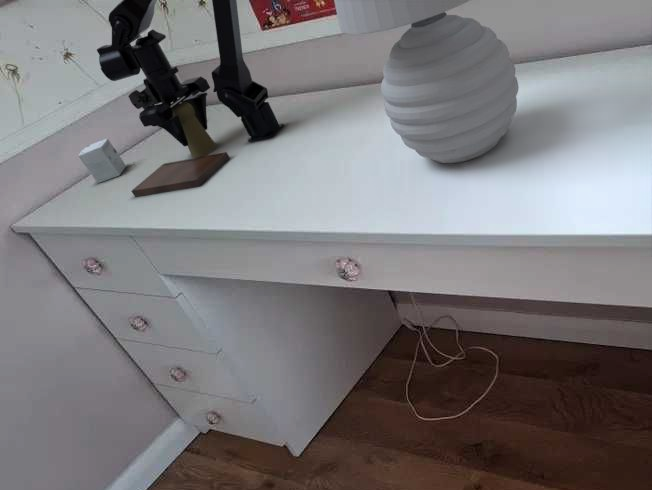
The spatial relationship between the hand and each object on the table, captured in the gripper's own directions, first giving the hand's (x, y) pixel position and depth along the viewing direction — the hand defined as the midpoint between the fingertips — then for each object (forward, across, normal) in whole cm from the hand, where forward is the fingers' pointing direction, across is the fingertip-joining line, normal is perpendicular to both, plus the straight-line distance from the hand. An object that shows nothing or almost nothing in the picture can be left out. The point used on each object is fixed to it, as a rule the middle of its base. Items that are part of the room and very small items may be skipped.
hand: (196, 137), depth 147 cm
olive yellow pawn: (+4, 0, 0) cm, 4 cm away
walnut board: (+3, +13, +3) cm, 14 cm away
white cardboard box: (+4, +4, -26) cm, 26 cm away
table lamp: (+3, +21, +71) cm, 74 cm away
